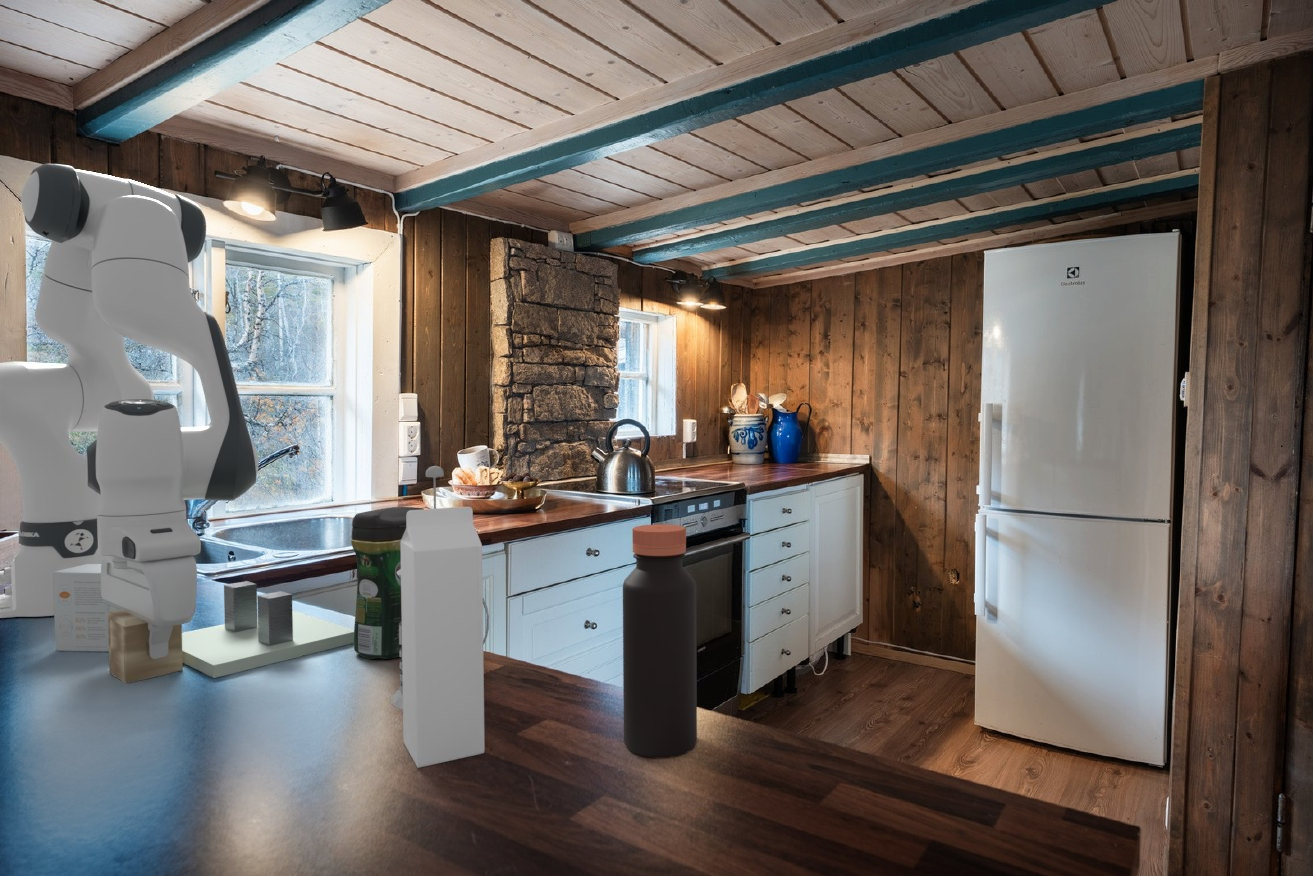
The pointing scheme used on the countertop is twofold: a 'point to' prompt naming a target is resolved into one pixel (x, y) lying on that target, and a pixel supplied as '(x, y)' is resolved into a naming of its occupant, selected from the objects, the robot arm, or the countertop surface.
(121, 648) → the wood grain cuboid
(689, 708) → the bottle
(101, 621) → the small box
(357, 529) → the coffee jar
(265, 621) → the post
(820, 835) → the countertop surface
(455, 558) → the milk
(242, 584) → the post
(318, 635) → the board
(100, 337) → the robot arm
